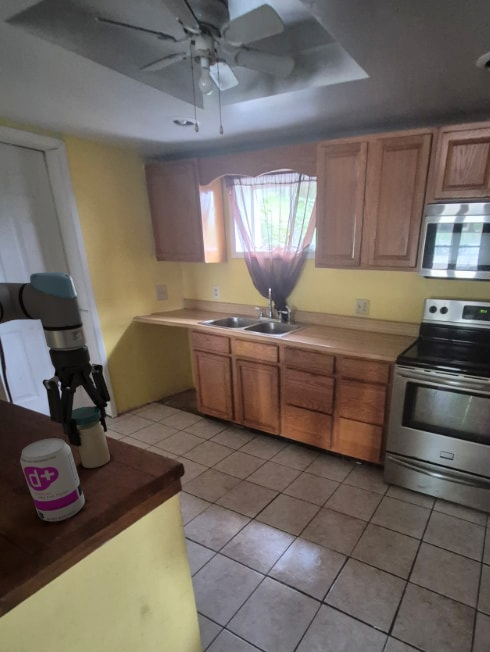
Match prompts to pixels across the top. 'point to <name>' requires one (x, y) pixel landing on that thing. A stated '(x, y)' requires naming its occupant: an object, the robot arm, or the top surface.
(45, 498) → the supplement can
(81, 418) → the jar lid
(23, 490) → the top surface
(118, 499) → the top surface
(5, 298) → the robot arm
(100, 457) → the jar
